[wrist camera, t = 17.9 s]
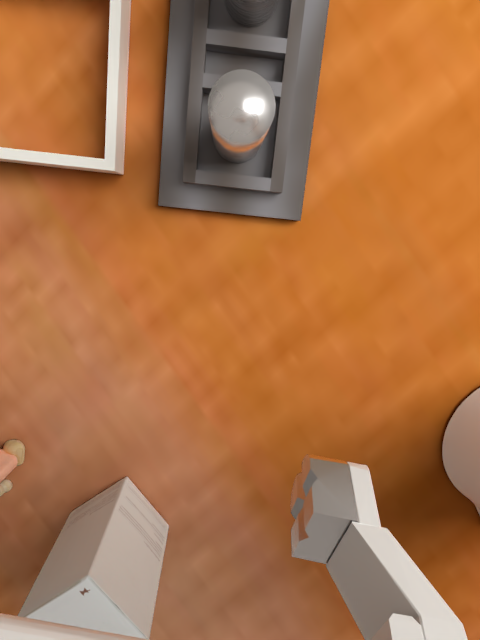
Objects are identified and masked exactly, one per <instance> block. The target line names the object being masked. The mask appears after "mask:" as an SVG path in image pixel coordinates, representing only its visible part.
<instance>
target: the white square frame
mask: <svg viewBox="0 0 480 640" xmlns="http://www.w3.org/2000/svg"><path fill="white" fill-rule="evenodd" d="M130 15H131V0H110V16H109V46H108V75H107V105H106V134H105V159H100V158H91V157H82V156H73V155H64V154H55V153H46V152H37V151H28V150H19V149H10V148H2V147H0V161H3V162H12V163H21V164H30V165H40V166H49V167H58V168H67V169H76V170H85V171H94V172H103V173H112V174H121V175H124V153H125V130H126V107H127V84H128V61H129V38H130Z"/></svg>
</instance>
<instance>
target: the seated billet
mask: <svg viewBox="0 0 480 640" xmlns="http://www.w3.org/2000/svg"><path fill="white" fill-rule="evenodd" d="M276 3H277V0H225V6H226V9H227V11H228V13H229V15H230V16H231V18H232V19H233V20H234V21H235V22H237V23H238V24H240V25H242V26H245V27H256V26H259V25H262V24H263V23H265V22H266V21H267V20H268V19H269V18H270V17H271V16H272V14H273V12H274V10H275V7H276Z"/></svg>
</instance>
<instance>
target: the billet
mask: <svg viewBox="0 0 480 640" xmlns="http://www.w3.org/2000/svg"><path fill="white" fill-rule="evenodd" d="M275 109H276V103H275V97H274V93H273V91H272V89H271V87H270V85H269V84H268V82H267V81H266V80H265V79H264V78H263V77H262V76H260V75H259V74H257V73H255V72H253V71H250V70H246V69H238V70H233V71H230V72H228V73H226V74H224V75H223V76H221V77H220V78H219V79H218V80H217V81H216V83H215V84H214V86H213V87H212V89H211V92H210V95H209V99H208V113H209V119H210V124H211V130H212V136H213V141H214V145H215V148H216V150H217V151H218V153H219V154H220V155H221V156H222V157H223V158H224V159H226V160H228V161H230V162H233V163H242V162H246V161H248V160H250V159H252V158H253V157H254V156H255V155H256V154H257V153H258V151H259V149H260V147H261V145H262V143H263V141H264V139H265V137H266V134H267V132H268V130H269V128H270V126H271V124H272V122H273V119H274V116H275Z"/></svg>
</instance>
